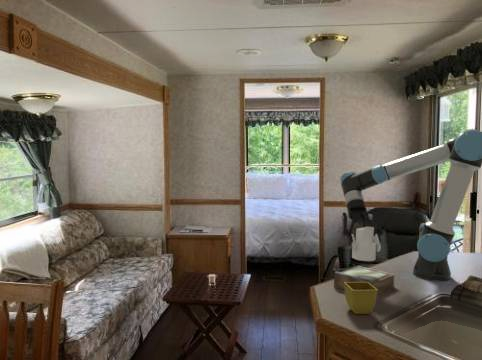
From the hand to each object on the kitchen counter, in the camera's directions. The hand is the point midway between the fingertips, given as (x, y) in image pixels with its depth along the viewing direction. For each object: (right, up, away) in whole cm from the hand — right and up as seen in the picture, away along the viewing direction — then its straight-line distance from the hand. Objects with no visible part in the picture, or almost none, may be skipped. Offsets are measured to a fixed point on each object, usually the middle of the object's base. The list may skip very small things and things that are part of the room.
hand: (367, 250), depth 164 cm
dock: (0, -15, +4) cm, 16 cm away
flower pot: (-9, -18, -21) cm, 29 cm away
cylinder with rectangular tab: (0, -4, +4) cm, 5 cm away
